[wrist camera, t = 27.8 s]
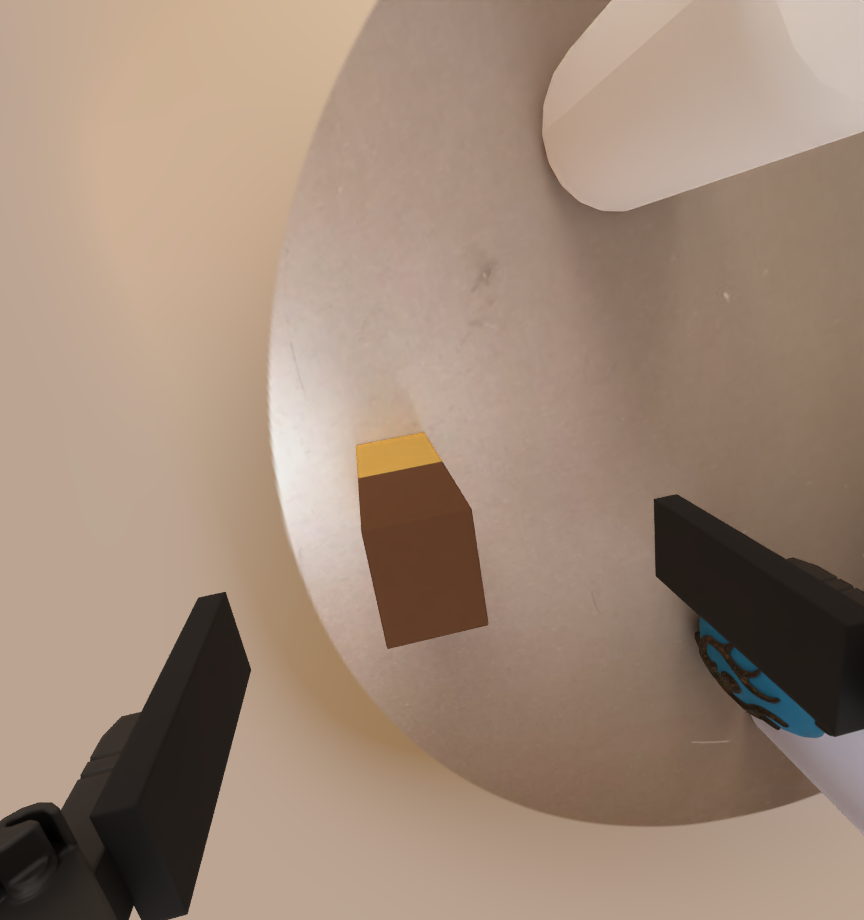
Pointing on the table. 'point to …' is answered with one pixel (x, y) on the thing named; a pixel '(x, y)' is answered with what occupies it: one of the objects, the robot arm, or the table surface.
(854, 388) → the table surface
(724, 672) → the ornament
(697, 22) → the white plastic cylinder
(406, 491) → the sponge
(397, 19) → the table surface
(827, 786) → the spray bottle
